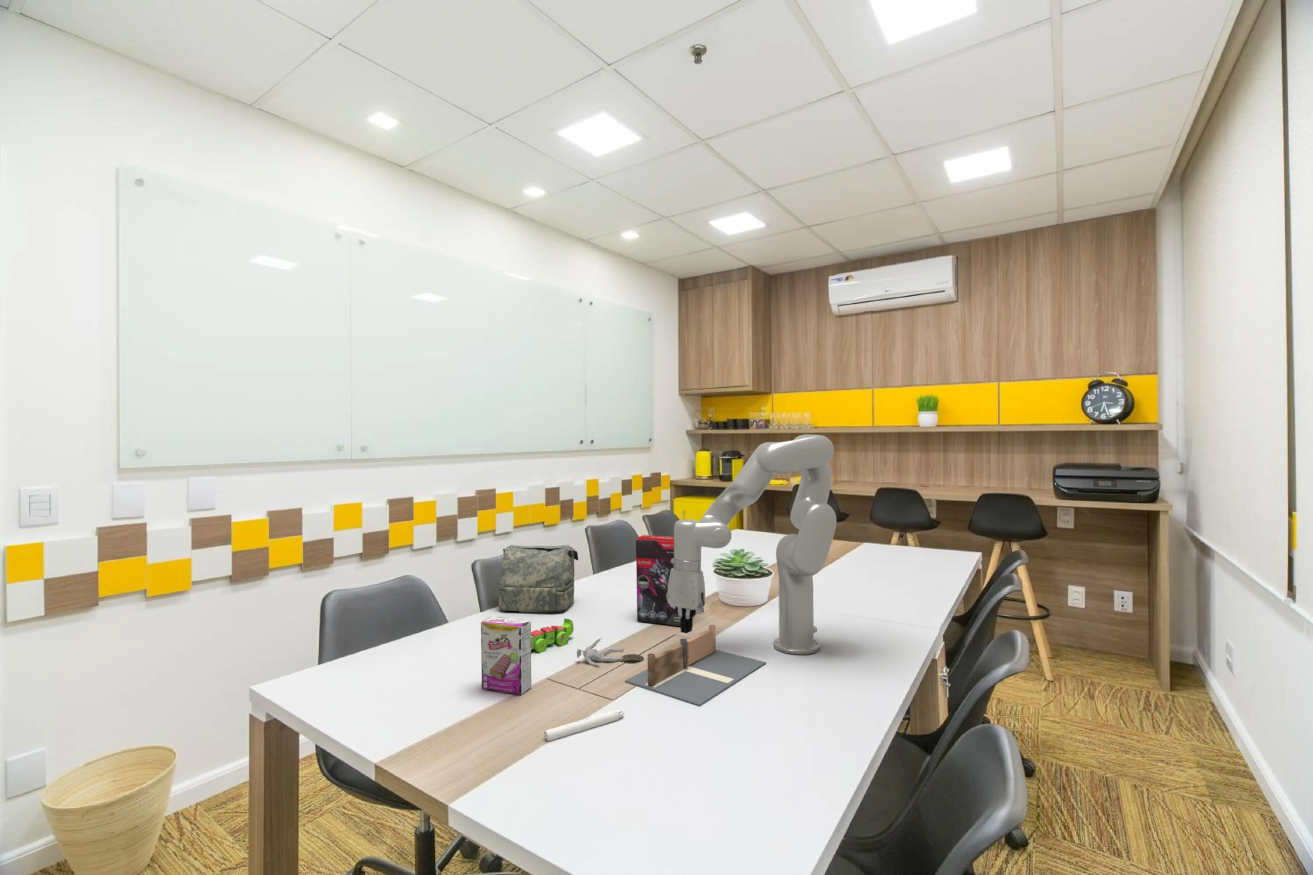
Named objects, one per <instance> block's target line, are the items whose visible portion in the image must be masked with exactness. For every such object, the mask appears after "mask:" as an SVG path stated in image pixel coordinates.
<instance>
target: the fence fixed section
mask: <svg viewBox="0 0 1313 875" xmlns="http://www.w3.org/2000/svg"><path fill="white" fill-rule="evenodd" d="M687 640H688V639H687V638H680V644H678V645H675V646H673V647H671V648H669V649H666V650H665V651H663V652H660V653H658V654H655V653H653V652H652V653H650V652H649V653H648V654H647V669H648V686H655V684H656V683H658V682H660V681H662V680H664V679H666V678H668V677H669V676H671V675H673V674H675V673H677V672H679V671H681V670H683V669H686V668H687Z"/></svg>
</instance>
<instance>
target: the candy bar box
mask: <svg viewBox="0 0 1313 875" xmlns="http://www.w3.org/2000/svg"><path fill="white" fill-rule="evenodd" d="M531 632H532V621H531V620H525V619H517V618H516V619H515V618H509V617H501V616H490V617H487V618H486V619H483V620H481V622H480V642H481V643H480V648H481V649H480V650H481V653H480V654H481V660H480V661H481V690H485V689H486V691H492V692H499V693H504V692H505V693H504V694H510V693H511V695H517V696H523V695H525V693H526V692H528V690H530V689H531V688H532V649H531Z"/></svg>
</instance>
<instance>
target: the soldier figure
mask: <svg viewBox="0 0 1313 875" xmlns="http://www.w3.org/2000/svg"><path fill="white" fill-rule="evenodd" d="M602 639H603V638H602V637H600V638H598V639H597V640H595V642H593V643H592V644H591V645H589V646H587V647H586V648H585V649H580V648H577V650H576V657H577V659H579V658H580V657H581V656H583V658H584V660H585V661H586V662H587V663H588V664H589V665H591V666H594V667H598V668H599V667H600V666H601V663H600V662H602V663H604V662H615V661H620V662H621V661H623V660H624V657H623V656H622V657H614V656H611V655H610V654H611V653H621V654H622V653H623V652H624V650H625V648H624V647H623V648H620V649H619V648H613V647H608V648H606V649H604V650H602V651H601V650H598V649H596V648H594V647H596V646H597V645H598V644H599V642H602V641H600V640H602ZM594 661H596V662H594Z"/></svg>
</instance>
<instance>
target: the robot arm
mask: <svg viewBox="0 0 1313 875" xmlns="http://www.w3.org/2000/svg"><path fill="white" fill-rule="evenodd" d="M834 453H835V448H834V445H833V442H832V441H831V440H830V439H829V437H827V436H825V435H821V434H802V435H798V436H796V437H795V438H793V440H786V441H780V442H778V441H777V442H776V441H775V442H772V441H768V442H767V441H766V442H764V443H761V444H760V445H758V446H757V448H756V449H755V450H754V452H753V453H752V454H751V456H750V457H749V459H748V460H747V461H746V463H745V464H743V467H742V468H741V470H740V471H739V472H738V473H737V475H736V476H735V477H734V479H733V480H732V481H731V483H730V484H728V486H726V488H725V489H724V490H723V491H722V492H721V493H720V494H719V495H718V496H717V498H715V500H714V501H713V502H712V503H711V505H710V506H709V507H708V509H706V511H705V513H704V514H703V516H701V518H700V520H696V519H687V518H685V519H679V520H677V521H675V523H674V525H673V526H674V529H673V537H674V558H672V559H671V563H673V564H674V568H672V569H671V572H670V576H669V583H668V594H667V601H668V603H669V604H670V607H672V608H674V609H676V611H677V612H678V615H679V617H680V626H679V627H680V632H681V633H682V634H683V633H684V634H688V633H691V632H692V631H693V621H694V619H693V618H695V616H696V615H701V614H704V613H705V609H704V606H705V605H706V584H705V583H706V582H705V577H704V571H703V570H702V547H703V548H710V549H722V548H725V547H727V546H728V545H729V543H730V542H731V540H732V536H733V535H732V534H733V533H732V530H731V528H730V527H729V524H730V522H731V521H732V520H733V518H735V517H736V515H737V514H738V513H740V512H741V511H742V510H743V509H745V508H747V507H749V506H750V505H753V504H754V503H755V502H757V501H758V500H759V498H760V497H761V496H762V494H763V493H764V491H765V490H766V489H767V487H768V486H769V484H771V482H772V480H773V479H774V477H775V476H776V475H783V474H790V473H796V472H799V471H800V481H799V485H798V489H797V492H796V495H795V497H794V498H795V499H794V502H793V503H792V504H793V505H792V507H791V508H792V509H791V511H790V521H791V522H790V523H791V524H792V525H793V526H794V527H795V528H796V529H797V530H798V533H797V534H796V533H790V534H789V533H788V534H786V535H785V536H783V537H782V538H781V539H780V540H779V541H778V542H777V545H776V550H775V558H776V559H775V560H776V566H777V574H778V637H777V638H775V639H774V640H773V647H774V649H776V650H778V651H779V652H782V653H786V654H790V655H811V654H814V653H817V652H818V651H819V650H820V648H821V647H820V643H819V642H818V641H817V640H816V639H814V638H815V636H814V635H815V633H817V632H818V628H817V626H815V625H814V578H813V577H814V576H815V575H817V574H818V573H819V572H820V571H821V570H822V569H823V568H824V566H825V565H826V564H825V563H826V562H827V559H828V556H829V552H830V550H831V546H832V542H833V539H834V536H835V532H836V528H837V514H836V512H835V510H834V509H833V507H832V506H831V505H829V503H828V501H829V500H828V499H829V497H830V496H829V495H830V491H831V488H832V482H833V474H832V469H831V468H832V467H831V465H830V461H831V460H832V459H833V456H834Z"/></svg>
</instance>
